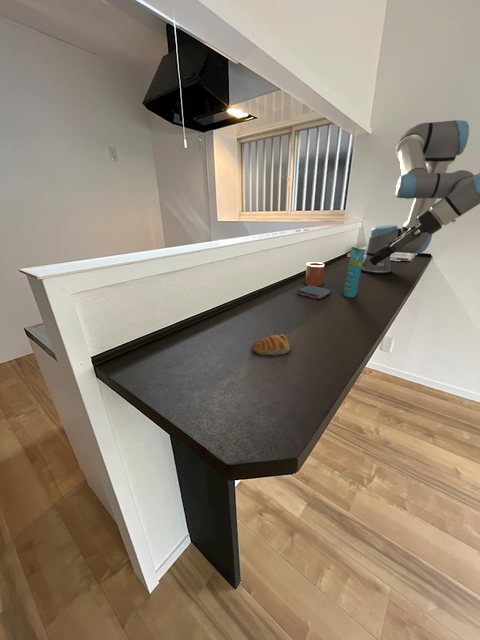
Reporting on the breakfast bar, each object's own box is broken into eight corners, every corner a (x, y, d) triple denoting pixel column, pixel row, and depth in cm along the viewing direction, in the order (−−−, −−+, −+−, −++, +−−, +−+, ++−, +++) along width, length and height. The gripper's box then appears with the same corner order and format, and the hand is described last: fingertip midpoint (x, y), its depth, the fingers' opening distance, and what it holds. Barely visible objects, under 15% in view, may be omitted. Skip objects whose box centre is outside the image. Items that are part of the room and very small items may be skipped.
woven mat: (331, 293, 111) (331, 289, 110) (318, 300, 104) (319, 295, 103) (308, 288, 117) (309, 283, 116) (296, 294, 110) (296, 289, 109)
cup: (308, 280, 128) (310, 261, 124) (324, 282, 124) (327, 263, 120) (302, 284, 122) (304, 264, 118) (318, 287, 118) (321, 267, 114)
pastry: (258, 359, 66) (258, 346, 65) (248, 346, 72) (249, 334, 70) (291, 353, 69) (292, 340, 67) (279, 341, 75) (280, 329, 73)
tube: (338, 293, 110) (346, 246, 102) (347, 292, 112) (356, 246, 104) (351, 299, 104) (361, 250, 96) (361, 297, 106) (371, 249, 98)
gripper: (445, 230, 75) (375, 274, 88) (442, 223, 93) (385, 260, 107) (428, 210, 75) (361, 257, 89) (429, 207, 94) (374, 246, 108)
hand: (374, 259), depth 98 cm, fingers open, 13 cm apart
